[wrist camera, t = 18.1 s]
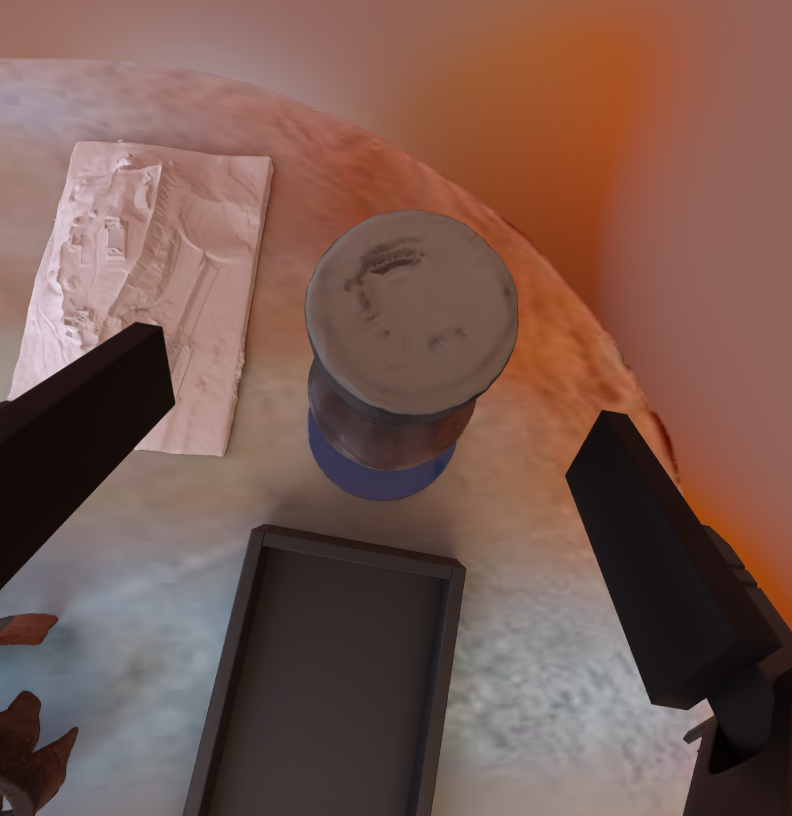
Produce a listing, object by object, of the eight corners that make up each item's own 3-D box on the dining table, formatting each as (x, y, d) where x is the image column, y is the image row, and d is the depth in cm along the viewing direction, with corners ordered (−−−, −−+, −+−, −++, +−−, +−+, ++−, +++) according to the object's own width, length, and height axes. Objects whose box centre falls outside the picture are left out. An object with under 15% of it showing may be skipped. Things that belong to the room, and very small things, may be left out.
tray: (173, 908, 22) (145, 967, 20) (263, 523, 26) (251, 528, 23) (399, 943, 23) (403, 1007, 20) (457, 559, 26) (466, 568, 24)
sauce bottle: (344, 370, 27) (276, 97, 8) (435, 383, 28) (590, 151, 8) (328, 467, 26) (200, 430, 7) (424, 480, 26) (571, 482, 7)
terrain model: (18, 465, 27) (-65, 465, 22) (43, 147, 30) (-24, 83, 25) (274, 455, 28) (251, 454, 23) (274, 147, 31) (254, 85, 26)
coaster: (293, 485, 26) (291, 485, 26) (326, 341, 28) (325, 338, 28) (443, 513, 27) (445, 513, 26) (466, 368, 29) (468, 366, 28)
